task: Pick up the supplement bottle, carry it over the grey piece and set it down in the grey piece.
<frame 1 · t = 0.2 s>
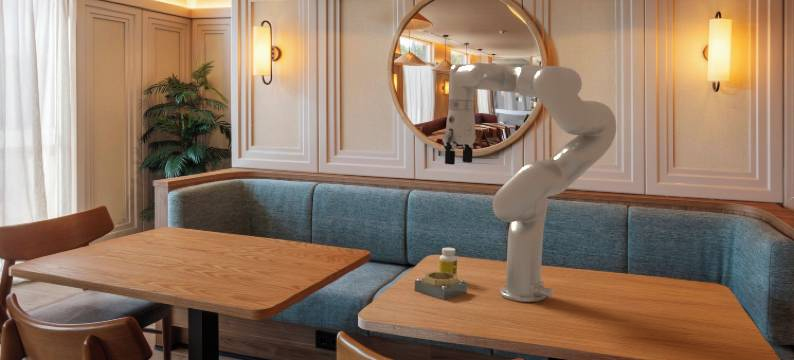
hand: (458, 163, 180), 36 cm above the table, tool pointing down, fingers open, 9 cm apart
supplement bottle: (447, 280, 181), on the table
grey piece: (440, 291, 170), on the table
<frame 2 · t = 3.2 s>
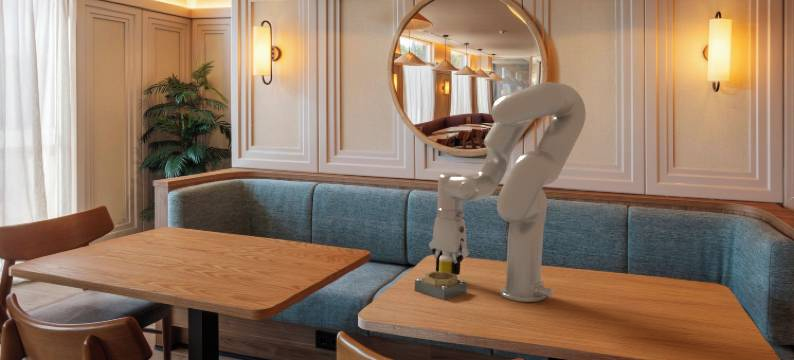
hand: (447, 272, 181), 3 cm above the table, tool pointing down, fingers closed on supplement bottle, 5 cm apart
supplement bottle: (447, 280, 181), on the table, touching gripper
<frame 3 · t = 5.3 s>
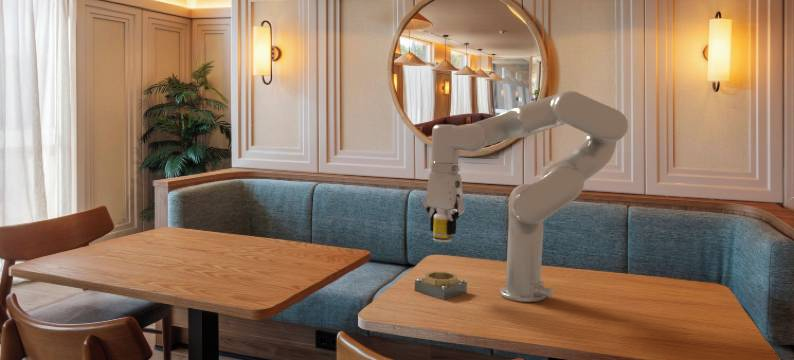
hand: (442, 231, 168), 17 cm above the table, tool pointing down, fingers closed on supplement bottle, 5 cm apart
supplement bottle: (442, 241, 168), point 15 cm above the table, touching gripper
when the fingers open (6 cm above the table, at t = 7.9 s): supplement bottle stays where it is, resting on grey piece.
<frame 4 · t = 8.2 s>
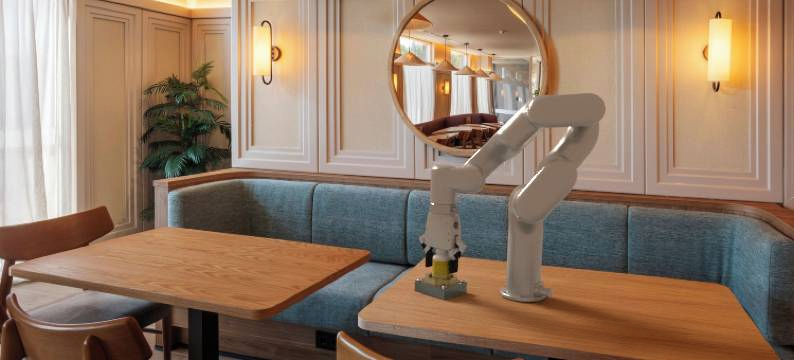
hand: (441, 269, 169), 7 cm above the table, tool pointing down, fingers open, 8 cm apart
supplement bottle: (441, 282, 169), point 3 cm above the table, touching grey piece
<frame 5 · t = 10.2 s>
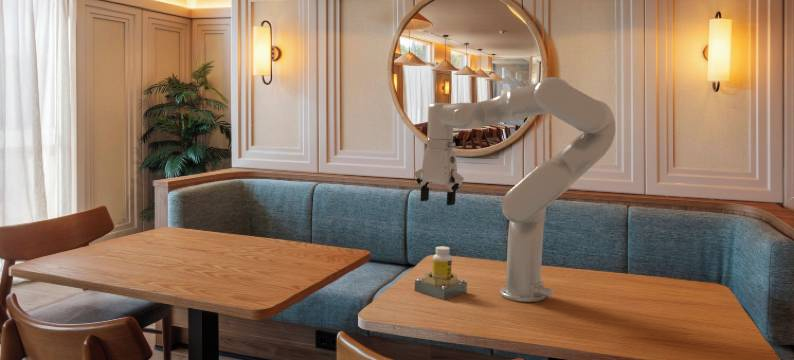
hand: (437, 202, 176), 24 cm above the table, tool pointing down, fingers open, 9 cm apart
nothing on the table moved.
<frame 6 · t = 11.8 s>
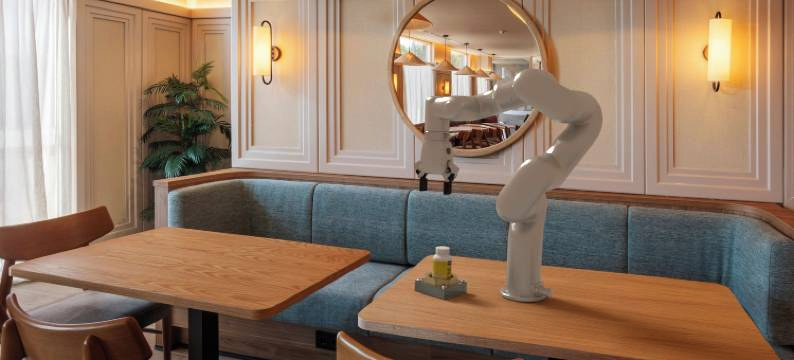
hand: (435, 192, 183), 26 cm above the table, tool pointing down, fingers open, 9 cm apart
nothing on the table moved.
at the end: supplement bottle 0.2 cm off-centre on the grey piece, point 2.8 cm above the grey piece's base; supplement bottle tilted 0°; the gripper is holding nothing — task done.
